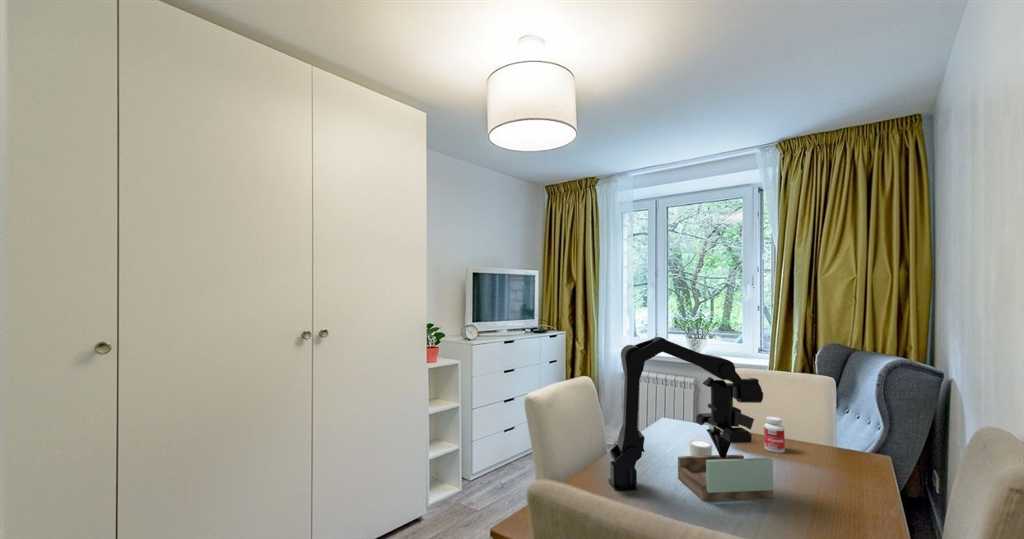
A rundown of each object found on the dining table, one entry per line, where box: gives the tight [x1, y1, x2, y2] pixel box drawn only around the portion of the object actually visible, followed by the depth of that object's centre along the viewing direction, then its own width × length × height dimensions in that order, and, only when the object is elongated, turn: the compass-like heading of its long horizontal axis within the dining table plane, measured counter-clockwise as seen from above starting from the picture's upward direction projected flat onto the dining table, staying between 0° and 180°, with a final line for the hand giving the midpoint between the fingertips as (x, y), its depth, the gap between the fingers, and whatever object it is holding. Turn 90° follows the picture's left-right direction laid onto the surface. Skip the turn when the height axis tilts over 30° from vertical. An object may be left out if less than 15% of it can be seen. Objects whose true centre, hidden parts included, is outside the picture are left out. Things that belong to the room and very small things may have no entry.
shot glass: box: [689, 439, 713, 456], centre depth 142 cm, size 7×7×7 cm
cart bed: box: [677, 453, 774, 502], centre depth 126 cm, size 20×14×6 cm
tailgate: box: [706, 457, 774, 493], centre depth 118 cm, size 18×1×8 cm, turn 95°
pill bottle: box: [763, 416, 786, 454], centre depth 156 cm, size 6×6×11 cm
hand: (722, 457), depth 126 cm, fingers closed
